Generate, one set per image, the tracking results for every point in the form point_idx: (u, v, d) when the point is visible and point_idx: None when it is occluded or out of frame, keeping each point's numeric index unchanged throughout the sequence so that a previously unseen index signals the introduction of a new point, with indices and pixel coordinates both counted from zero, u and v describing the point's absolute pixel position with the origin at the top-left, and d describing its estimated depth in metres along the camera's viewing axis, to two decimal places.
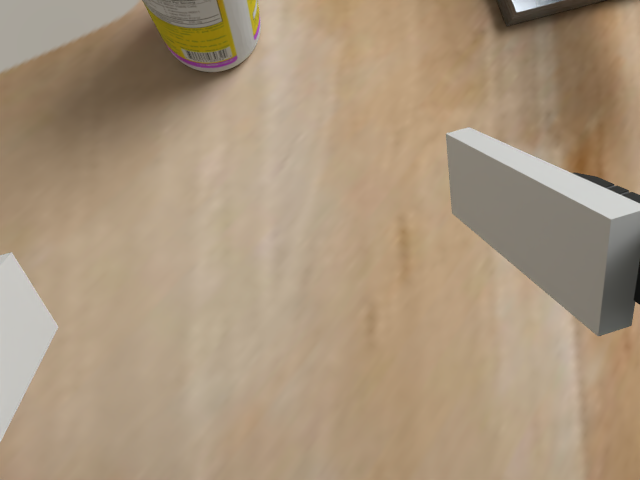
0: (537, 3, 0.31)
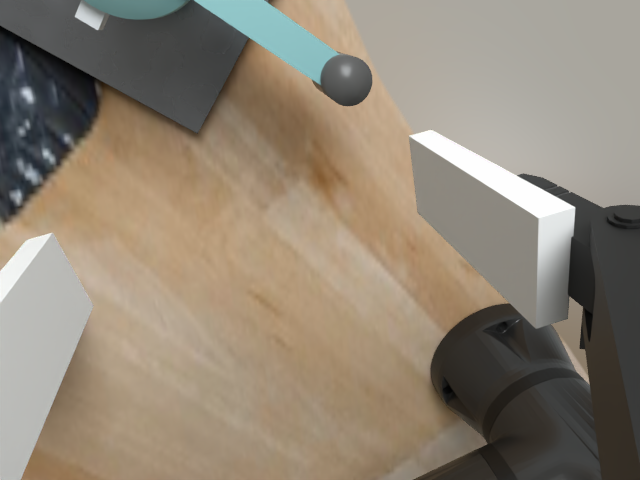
0: (204, 113, 0.34)
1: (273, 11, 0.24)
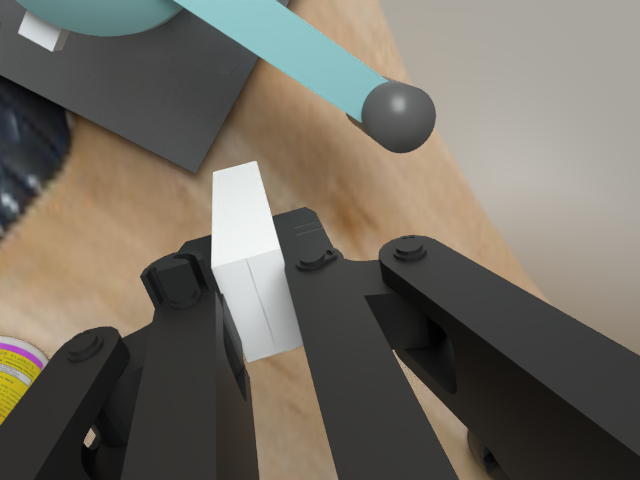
0: (204, 149, 0.27)
1: (298, 24, 0.17)
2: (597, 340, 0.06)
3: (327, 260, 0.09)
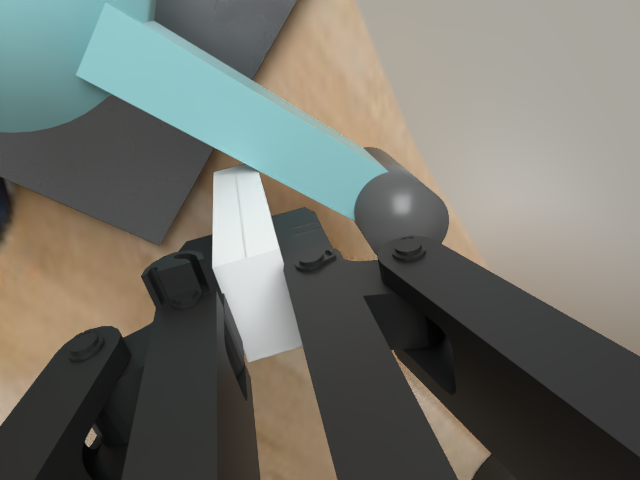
0: (168, 218, 0.23)
1: (270, 110, 0.13)
2: (597, 341, 0.06)
3: (326, 261, 0.09)
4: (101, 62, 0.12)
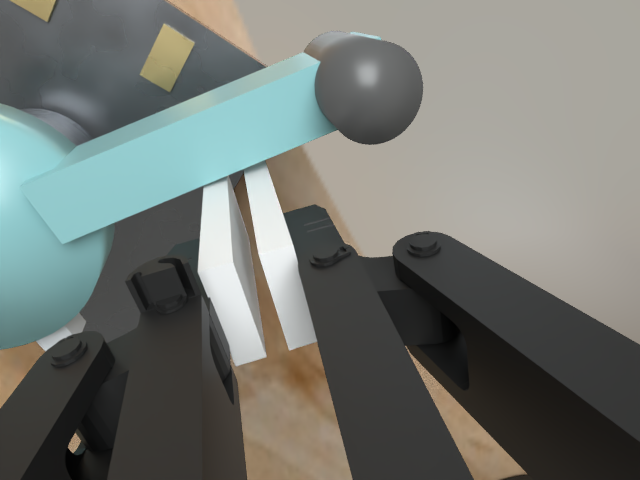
0: None
1: (182, 128, 0.13)
2: (613, 338, 0.06)
3: (340, 257, 0.09)
4: (62, 222, 0.13)
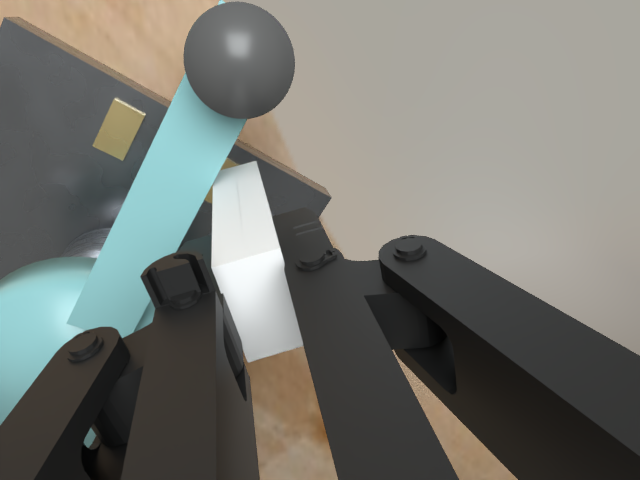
0: None
1: (132, 202, 0.13)
2: (597, 340, 0.06)
3: (327, 261, 0.09)
4: (114, 327, 0.15)
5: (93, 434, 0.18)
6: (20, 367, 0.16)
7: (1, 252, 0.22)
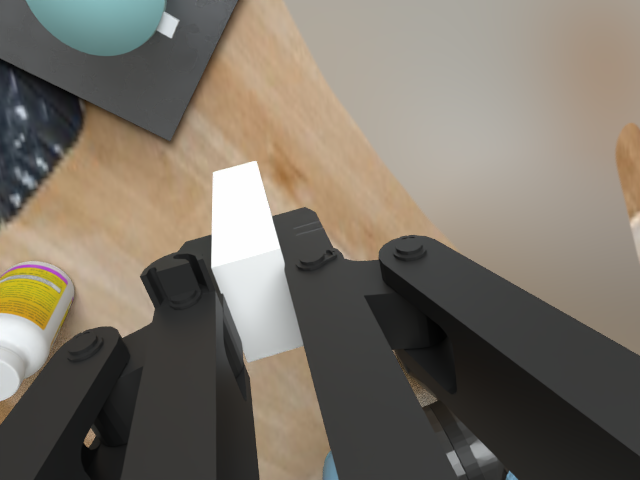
0: (175, 123, 0.40)
1: None
2: (597, 340, 0.06)
3: (327, 260, 0.09)
4: None
5: (108, 33, 0.28)
6: None
7: None
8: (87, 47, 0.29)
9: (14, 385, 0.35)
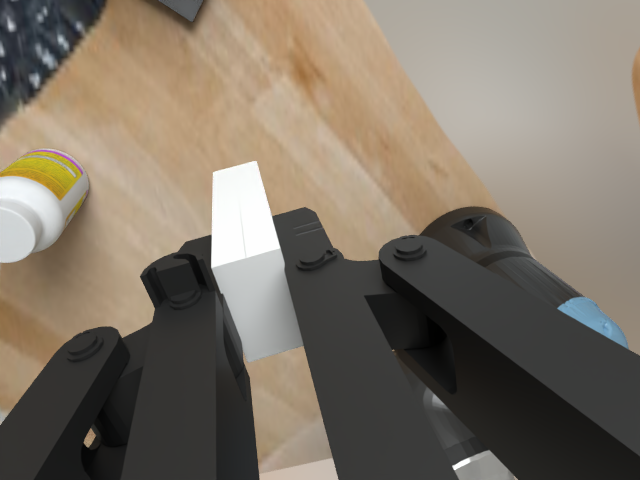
0: (198, 3, 0.40)
1: None
2: (597, 341, 0.06)
3: (327, 261, 0.09)
4: None
5: None
6: None
7: None
8: None
9: (29, 244, 0.34)
